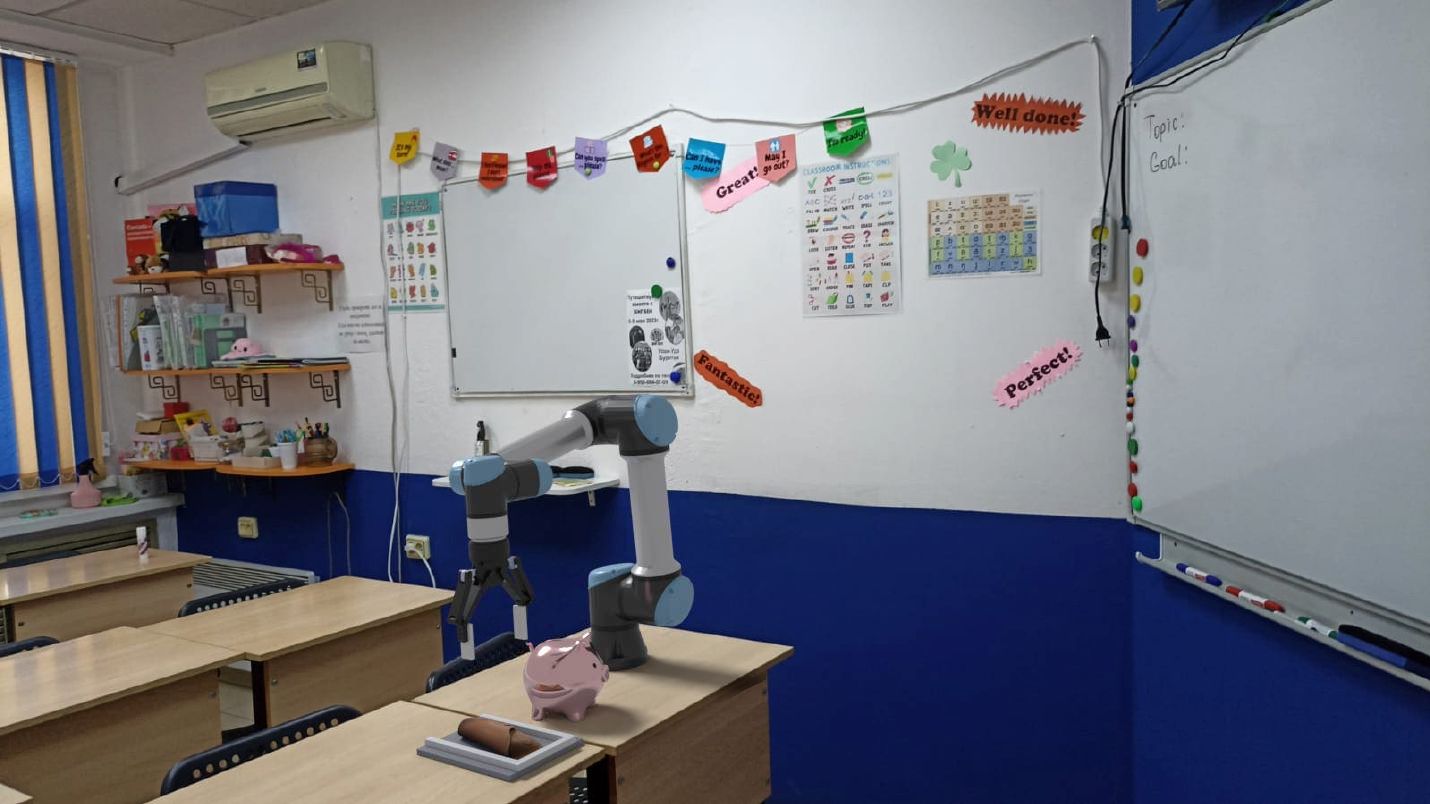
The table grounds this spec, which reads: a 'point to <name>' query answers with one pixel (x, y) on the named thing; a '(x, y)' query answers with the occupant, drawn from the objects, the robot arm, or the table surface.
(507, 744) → the sunglasses case
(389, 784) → the table surface
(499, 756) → the rail cradle
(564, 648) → the piggy bank
